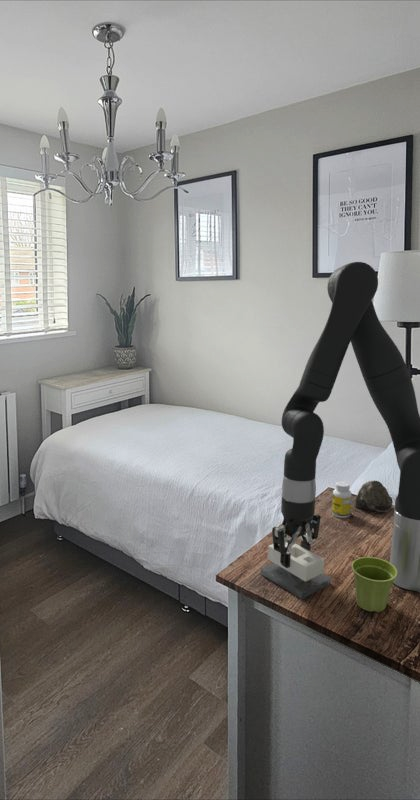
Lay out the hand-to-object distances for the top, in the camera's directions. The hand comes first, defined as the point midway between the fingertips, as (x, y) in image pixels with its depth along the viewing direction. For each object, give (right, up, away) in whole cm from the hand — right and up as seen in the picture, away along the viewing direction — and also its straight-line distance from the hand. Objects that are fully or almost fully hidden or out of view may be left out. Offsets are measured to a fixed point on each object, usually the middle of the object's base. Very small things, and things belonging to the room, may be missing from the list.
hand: (295, 561), depth 122 cm
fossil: (+30, +4, +39) cm, 49 cm away
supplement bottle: (+19, +3, +34) cm, 40 cm away
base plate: (0, -4, +1) cm, 4 cm away
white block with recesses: (0, -1, 0) cm, 1 cm away
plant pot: (+15, -7, -9) cm, 19 cm away
